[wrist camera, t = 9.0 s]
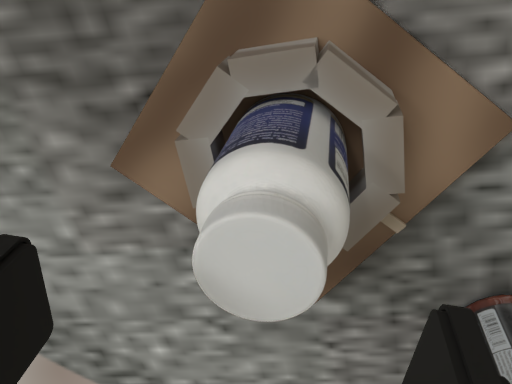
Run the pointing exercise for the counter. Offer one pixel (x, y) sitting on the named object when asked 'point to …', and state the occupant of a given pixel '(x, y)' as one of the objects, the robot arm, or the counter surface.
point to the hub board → (325, 91)
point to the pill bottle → (273, 210)
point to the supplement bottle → (496, 330)
